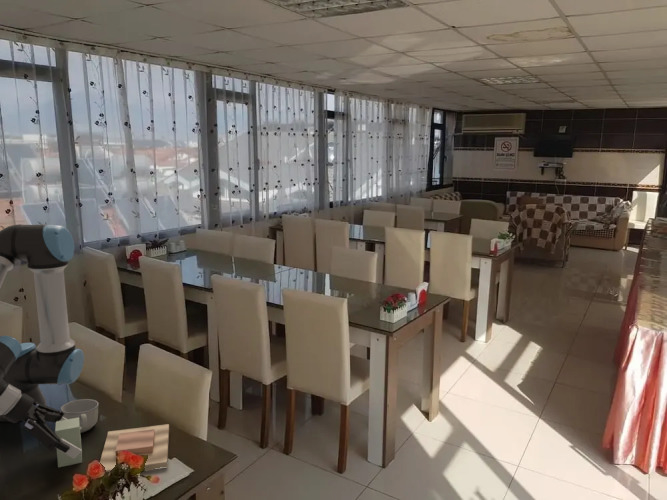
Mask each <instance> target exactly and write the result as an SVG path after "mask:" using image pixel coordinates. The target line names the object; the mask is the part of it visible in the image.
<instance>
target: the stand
mask: <svg viewBox="0 0 667 500" xmlns="http://www.w3.org/2000/svg"><path fill="white" fill-rule="evenodd" d="M169 438H170V424H168V423H167V424H166V423H165V424H159V425H158V424H157V425H150V426H144V427H143V426H141V427H136V428H126V429H119V430H111V431H110V430H109V431H107V436H106V439H105V443H104V446H103V450H102V453H101V457H100V460H99V464H100V463H101V464H102V465H103V466H104V467H105V470H106V472H110V471H111V470H112V469H113V468H114V467H115V465H116V454H117V452H118V451H121V450H129V451H131V452H133V453H135V454H138V455H148V459H147V461H146V463H145V467H144V468H145V470H152V469H155V468H160V467H167V468H168V464H167V461H169V460H168V459H169V443H170V442H169V440H170V439H169Z"/></svg>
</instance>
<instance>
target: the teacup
mask: <svg viewBox="0 0 667 500" xmlns="http://www.w3.org/2000/svg"><path fill="white" fill-rule="evenodd" d="M60 412H63V413H64V415H63V416H62V417H64V418H66V419H73V418H78V417H79V422H80V427H81V430H80V434H81V433H85V432H87V431H90V430H91V429H92V428H93V427H94V426H95V425H96V423H98V420H99V419H98V417H99V402H98V401H97V400H95V399H90V398H84V399H82V398H81V399H75V400H71V401H69V402H66V403H65V404H63V405H62V406H61V407H60Z"/></svg>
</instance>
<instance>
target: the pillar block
mask: <svg viewBox="0 0 667 500" xmlns="http://www.w3.org/2000/svg"><path fill="white" fill-rule="evenodd" d="M54 433H55V434H56V435H57V436H58V438H59V439H61V438H62V439H64V440H66V441H68V442H69V443H71V444H73V445H74V446H76V447H78V448H80V449H81V450H82V438H81V433H80V422H79V417H78V418H73V419H67V420H62V421H57V422H56V423H55V429H54ZM56 457H57V467H58V468H61V467H66V466H67V467H68V466H72V465H76V464H81V463H83V450H82V451H81V452H80V453H79V454H78V456H77V457H76V458H75V459H74V458H72V457H70V456H68V455H67V454H65V453H63V452H61V451H59V450H58V449H56Z"/></svg>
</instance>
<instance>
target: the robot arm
mask: <svg viewBox="0 0 667 500" xmlns="http://www.w3.org/2000/svg"><path fill="white" fill-rule="evenodd" d="M75 247H76V246H75V241H74V238H73V235H72V234H71V232H70V231H69V230H68V228H66V227H65V226H63V225H60V224H59V225H55V224H19V223H18V224H13V225H9V226H6V227H5V228H2V229H1V230H0V289H1V288H2V286H3V283H4V280H5V278H6V276H7V273H8V272H9V271H12V270H13V269H14V266H15V264H16V263H17V262H19V261H22V262H24V261H26V264H27V265H26V266H27V269H28V270H29V271H31V272H32V273H33V280H34V288H35V289H34V290H35V291H34V292H35V299H36V309H37V311H36V312H37V320H38V327H39V329H38V330H39V339H40V342H39V344H38V345H37V346H36V343H34V342H22V343H20V341H19V340H18V339H16V338H14V337H12V336H10V335H1V336H0V422H3V423H5V422H6V423H12V424H17V423H18V422H20V421H22V422H24V423H25V424H24V425H23V426H22V428H23V430H25V431H27V432H28V433H30V435H32V437H34V438H35V439H36V440H37V441H38V442H40V443H42V445H43V446H45V448H47V449H48V450H49V451H50V452H51V451H53V450H54V449H56V450H57V449H58V450H59V451H61V452H63V453H65V454H67V455H68V456H70V457H72V458H74V459H75V458H76V457H77V456H78V454H79V453H80V452H81V451H82V452H83V450H81V449H80V448H78V447H76V446H74V445H73V444H71V443H69V442H68V441H66V440H64V439H62V438H61V439H59V438H58V436H57V435H56V434H55V431H53V430H52V429H51V428H50V427H49V426H48V424H47V423H48V422H49V423H54V424H56V422H57V421H62V420H67V419H66V418H64V417H62V416H63V415H64V413H63V412H61V410H59V409H56V408H53V407H51V406H48V405H47V400H46V398H45V396H44V394H43V392H42V389H41V388H40V385H58V386H60V385H61V386H62V385H69V384H70V385H71V384H73V383H75V382H76V381H77V380H78V378H79V377H80V375H81V372H82V371H83V368H84V362H85V354H84V352H83V350H82V349H80V348H76V342H75V340H74V339H72V338H71V337H70V328H69V325H70V324H69V316H68V307H67V294H66V292H67V291H66V283H65V282H66V281H65V271H64V270H65V269H66V267H68V265H69V261H71V260H72V259H73V257H74V256H75V253H74V252H75V250H76V249H75ZM80 430H81V427H80Z"/></svg>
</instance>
